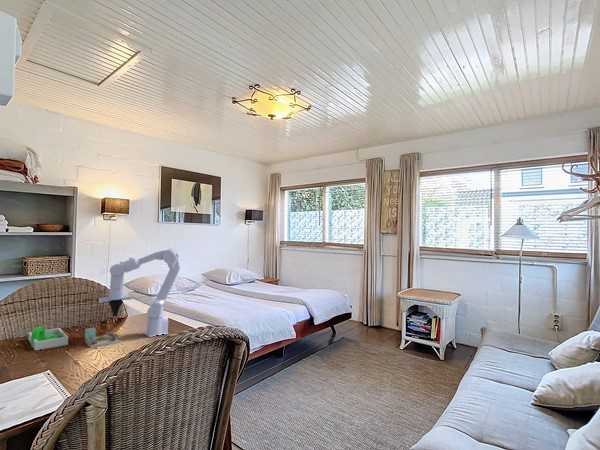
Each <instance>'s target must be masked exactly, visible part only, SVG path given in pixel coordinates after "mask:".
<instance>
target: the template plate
mask: <svg viewBox="0 0 600 450" xmlns="http://www.w3.org/2000/svg"><path fill="white" fill-rule="evenodd" d="M119 343H120V340H119V339H116V338H115V339H113V338H112V339H106V340H100V341H95V342H94V343H92V342H89V343H87V344H86V345H87V347H88V348H90V349H94V348H98V347H103V346H108V345H113V344H119Z"/></svg>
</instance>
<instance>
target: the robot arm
mask: <svg viewBox="0 0 600 450" xmlns="http://www.w3.org/2000/svg"><path fill="white" fill-rule="evenodd" d="M179 257H180V255H179V254H178V252H177V251H176V250H175V249H173V248H168V249H164V250H159V251H156V252H155V251H154V252H153V253H150V254H148V255H145V256H143V257H140V258H137V257H129V259H127V260H124V261H122V260H121V261H120V262H119V263H115V264H113V265H112V266H111V267H110V269H109V273H110V285H109V296H105V297H99V298H98V303H99V304H101V303H106V302H107V303H108V304H109V306H110V308H111V313H112V316H113V317H117V316H118V312H119V311H120V308H121V306H122V305H123V303H124V301H126V300H133V295H132V294H127V295H123V294H124V281H125V280H124V275H125V273H129V272H133V271H135V270H138V269H140V267H141V265H143V264H146V263H149V262H152V261H154V260H157V261H162V260H163V261H164V262H165V263H166V265H167V266H168V268H169V270H168V272H167V274H166V276H165V279H164V281H163V283H162V285H161V286H160V289H159V291H158V293H157V296H156V297H155V299H154V301H153V303H152V304H151V306H150V307H149V308H148V310H147V323H146V331H145V332H143V335H145V336H147V337H148V338H152V337H153V336H154V337H157V336H156V335H159V336H163V335H162V334H164V335H169V332H168V331H169V318H168V316H167V315H164V314H163V311H164V308H165V307H164V305H165V302H166V300H167V297H168V295H169V293H170V292H171V289H172V287H173V285H174V283H175V280H176V279H177V276H178V274H179V271H180V269H181V263H180V258H179ZM154 337H153V338H154Z"/></svg>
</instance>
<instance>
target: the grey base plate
mask: <svg viewBox="0 0 600 450" xmlns="http://www.w3.org/2000/svg"><path fill="white" fill-rule="evenodd" d="M118 336H119V334H118V333H114V332H112V331H107V334H105V335H99V336H96V337H95V338H94V342H95V341H100V340H106V339H112V338H113V339H115V338H116V339H118V338H119V337H118ZM118 340H119V339H118ZM89 342H92V339H86V338H84V343H85V344H86V345H87V343H89Z"/></svg>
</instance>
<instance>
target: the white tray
mask: <svg viewBox="0 0 600 450" xmlns="http://www.w3.org/2000/svg"><path fill="white" fill-rule="evenodd" d="M32 332H33V331H29V332H28V340H27V341H28V342H29V344H31V338H32ZM49 334H56V335H60V338H55V339H49V340H42V341H37V340H36V339H33V347H32V348H33V350H34V351H39V350H40V349H41V350H44V349H51V348H57V347H62V346H68V345H69V336H68V335H67V334H66V333H65V332H64V330H62V329H61V328H60V327H56V328H49V329H45V336H47V335H49Z"/></svg>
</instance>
